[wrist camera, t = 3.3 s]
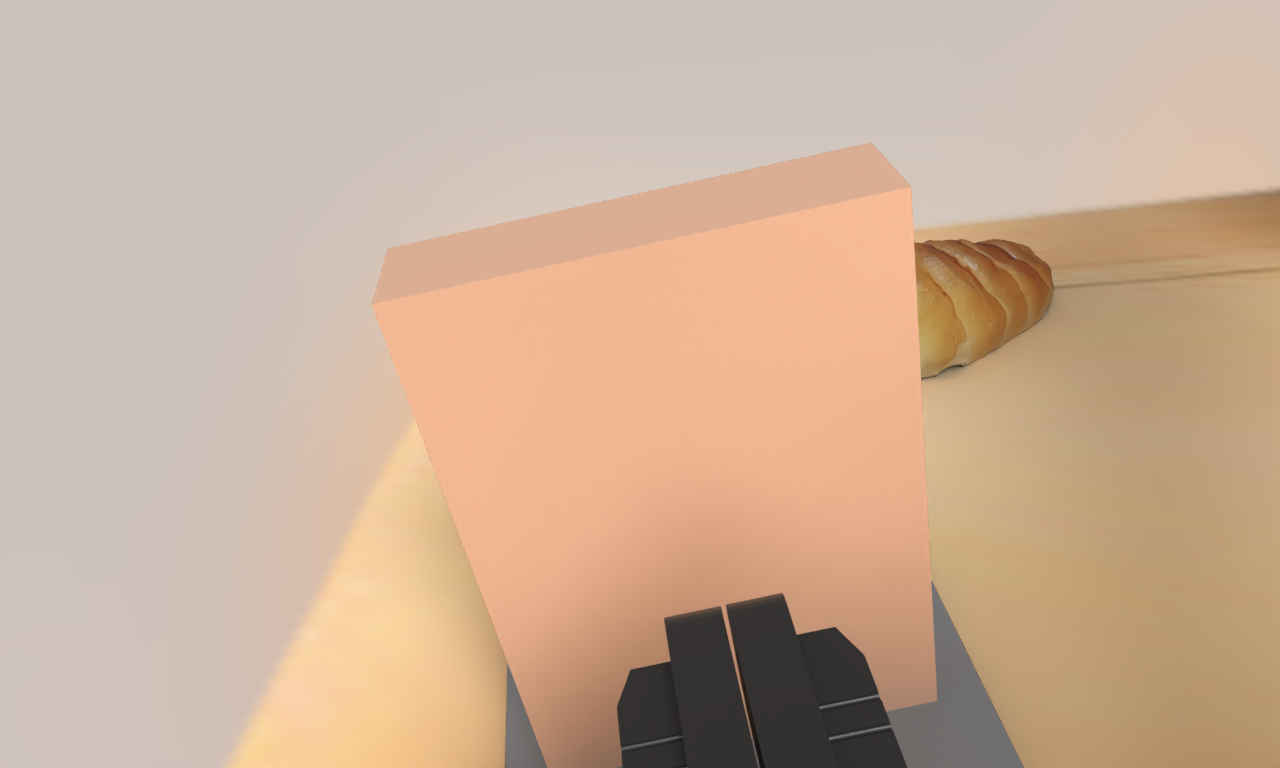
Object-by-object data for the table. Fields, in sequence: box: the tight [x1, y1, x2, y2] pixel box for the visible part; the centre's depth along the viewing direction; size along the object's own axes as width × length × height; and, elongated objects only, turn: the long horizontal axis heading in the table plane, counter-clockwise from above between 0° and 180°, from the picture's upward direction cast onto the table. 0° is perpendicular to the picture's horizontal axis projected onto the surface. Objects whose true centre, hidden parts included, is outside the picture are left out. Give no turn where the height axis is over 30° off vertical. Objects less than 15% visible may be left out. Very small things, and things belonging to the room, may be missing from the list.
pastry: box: [914, 239, 1054, 378], centre depth 40 cm, size 9×7×4 cm
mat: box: [505, 580, 1024, 768], centre depth 31 cm, size 12×22×1 cm, turn 6°
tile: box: [372, 143, 937, 768], centre depth 23 cm, size 10×3×14 cm, turn 96°
